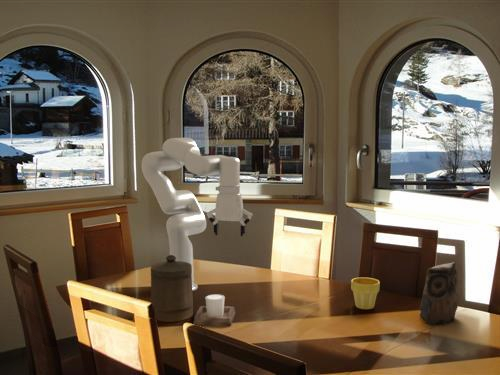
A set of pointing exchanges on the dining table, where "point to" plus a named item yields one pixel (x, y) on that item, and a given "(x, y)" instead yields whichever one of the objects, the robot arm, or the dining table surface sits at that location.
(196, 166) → the robot arm
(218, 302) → the white cup
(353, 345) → the dining table surface
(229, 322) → the square wooden tray
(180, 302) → the wooden container
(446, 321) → the owl
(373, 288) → the plant pot
